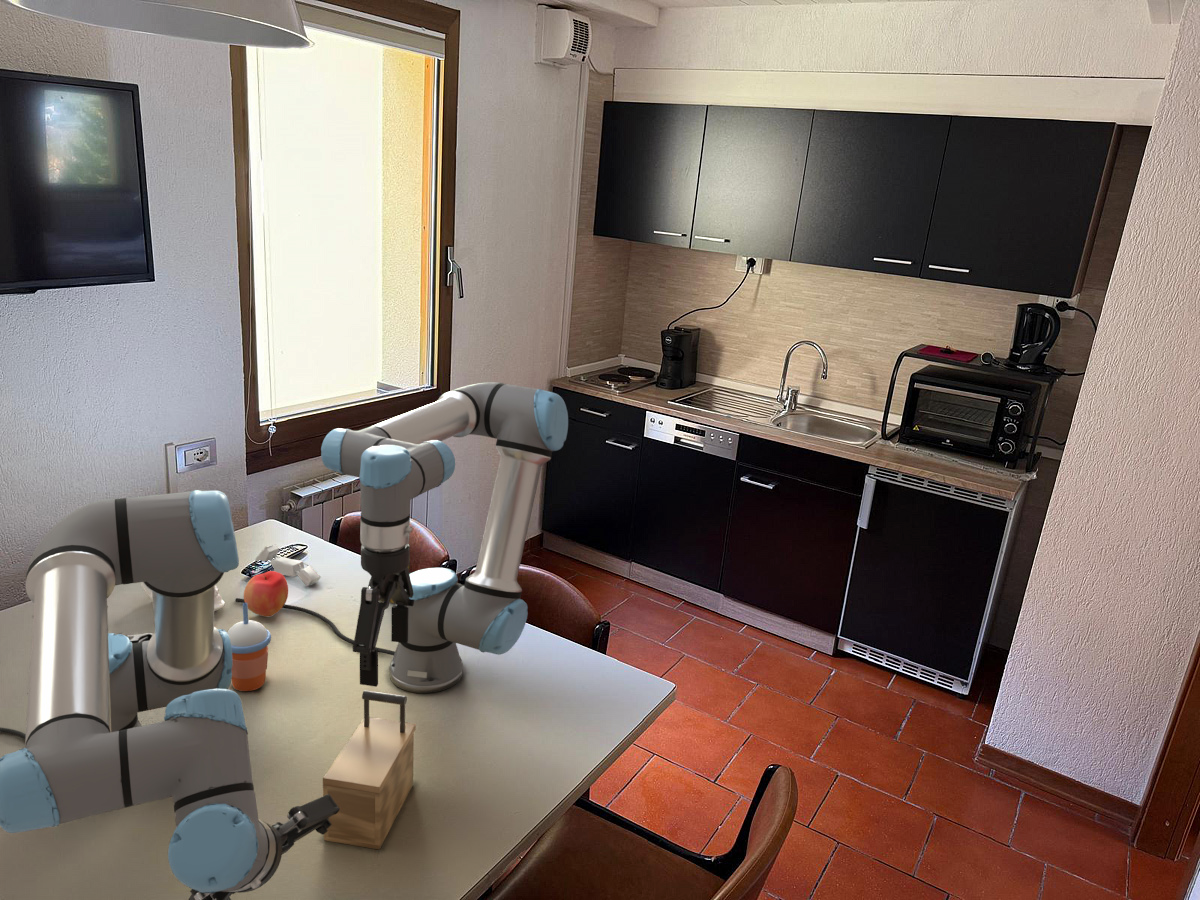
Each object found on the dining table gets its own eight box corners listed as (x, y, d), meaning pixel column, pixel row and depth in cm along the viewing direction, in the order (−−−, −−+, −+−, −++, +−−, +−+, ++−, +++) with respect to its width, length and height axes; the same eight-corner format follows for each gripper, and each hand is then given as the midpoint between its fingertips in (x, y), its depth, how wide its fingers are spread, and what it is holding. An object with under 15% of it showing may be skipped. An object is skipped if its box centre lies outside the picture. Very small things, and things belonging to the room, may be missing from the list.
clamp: (253, 565, 223) (254, 542, 221) (265, 560, 226) (266, 537, 224) (309, 593, 215) (310, 569, 213) (320, 588, 218) (321, 564, 216)
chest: (362, 776, 150) (362, 725, 147) (413, 784, 149) (413, 733, 146) (323, 840, 135) (322, 784, 132) (379, 849, 134) (379, 793, 131)
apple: (273, 600, 207) (272, 562, 204) (297, 613, 202) (296, 575, 199) (237, 614, 200) (234, 575, 197) (261, 628, 194) (259, 588, 191)
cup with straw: (256, 699, 169) (252, 618, 164) (214, 691, 170) (209, 610, 165) (281, 675, 177) (278, 597, 172) (242, 667, 179) (238, 590, 174)
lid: (364, 721, 148) (364, 681, 146) (415, 729, 147) (416, 689, 145) (322, 784, 132) (321, 740, 130) (379, 793, 131) (379, 749, 129)
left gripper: (150, 972, 88) (201, 959, 106) (358, 802, 98) (371, 817, 117) (113, 910, 90) (170, 908, 108) (320, 750, 100) (340, 773, 119)
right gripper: (378, 580, 122) (378, 708, 129) (433, 517, 146) (431, 628, 152) (328, 573, 123) (330, 701, 129) (391, 512, 147) (390, 622, 153)
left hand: (274, 861), depth 113 cm, fingers open, 13 cm apart
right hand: (385, 662), depth 141 cm, fingers open, 13 cm apart
